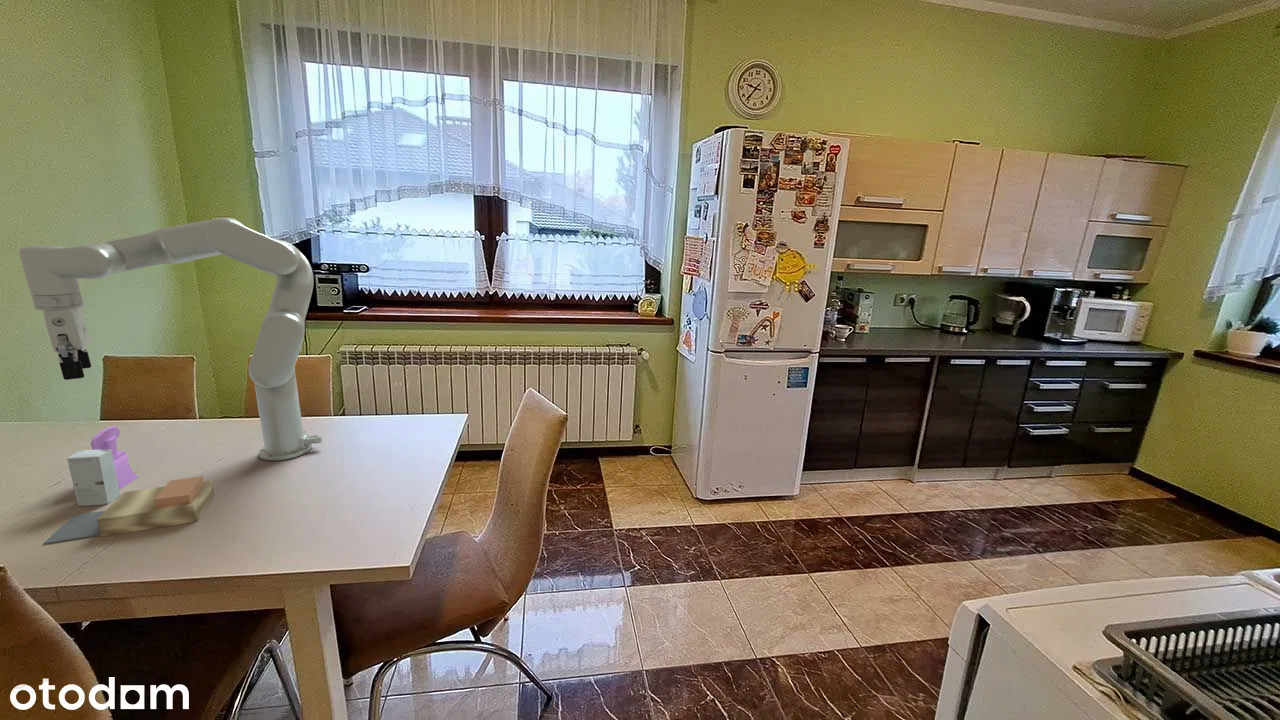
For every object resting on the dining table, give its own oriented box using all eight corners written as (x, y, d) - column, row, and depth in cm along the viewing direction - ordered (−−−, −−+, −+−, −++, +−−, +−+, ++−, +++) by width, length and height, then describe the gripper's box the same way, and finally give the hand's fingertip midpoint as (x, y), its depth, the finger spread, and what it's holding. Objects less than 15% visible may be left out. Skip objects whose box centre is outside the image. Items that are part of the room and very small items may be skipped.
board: (214, 495, 125) (211, 480, 124) (197, 521, 114) (193, 505, 113) (128, 507, 118) (124, 492, 117) (101, 536, 108) (96, 519, 107)
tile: (204, 483, 122) (202, 476, 122) (190, 502, 114) (188, 494, 114) (171, 488, 120) (170, 480, 119) (155, 507, 112) (153, 499, 111)
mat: (127, 508, 118) (126, 507, 118) (102, 535, 108) (102, 533, 108) (73, 516, 114) (73, 515, 114) (43, 544, 105) (43, 543, 105)
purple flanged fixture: (101, 477, 131) (86, 422, 127) (141, 475, 133) (128, 421, 129) (73, 493, 123) (57, 436, 119) (116, 491, 125) (102, 434, 121)
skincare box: (77, 506, 118) (63, 458, 115) (92, 496, 122) (79, 450, 119) (109, 504, 119) (97, 456, 116) (123, 494, 124) (111, 448, 120)
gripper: (75, 305, 113) (95, 379, 117) (88, 295, 126) (106, 362, 130) (23, 308, 108) (46, 385, 113) (42, 297, 121) (62, 367, 126)
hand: (78, 373), depth 121 cm, fingers open, 9 cm apart
